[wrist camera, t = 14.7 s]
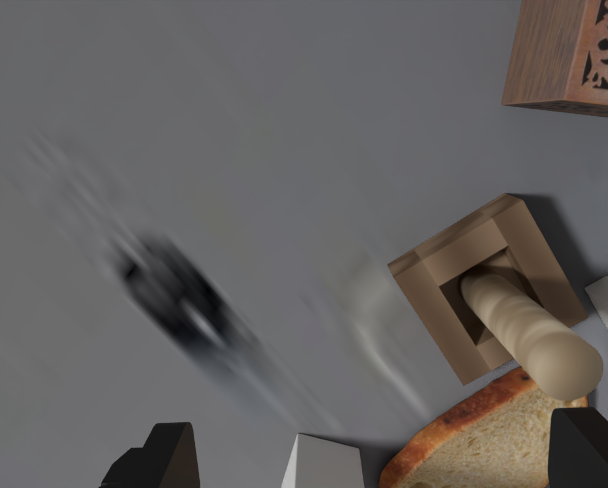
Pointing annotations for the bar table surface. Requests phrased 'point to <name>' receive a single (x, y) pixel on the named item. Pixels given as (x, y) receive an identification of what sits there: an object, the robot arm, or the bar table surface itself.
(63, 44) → the bar table surface
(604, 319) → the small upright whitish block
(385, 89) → the bar table surface
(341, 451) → the milk
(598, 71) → the tissue box cover
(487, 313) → the dowel
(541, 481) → the bread slice
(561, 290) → the socket block
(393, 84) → the bar table surface
